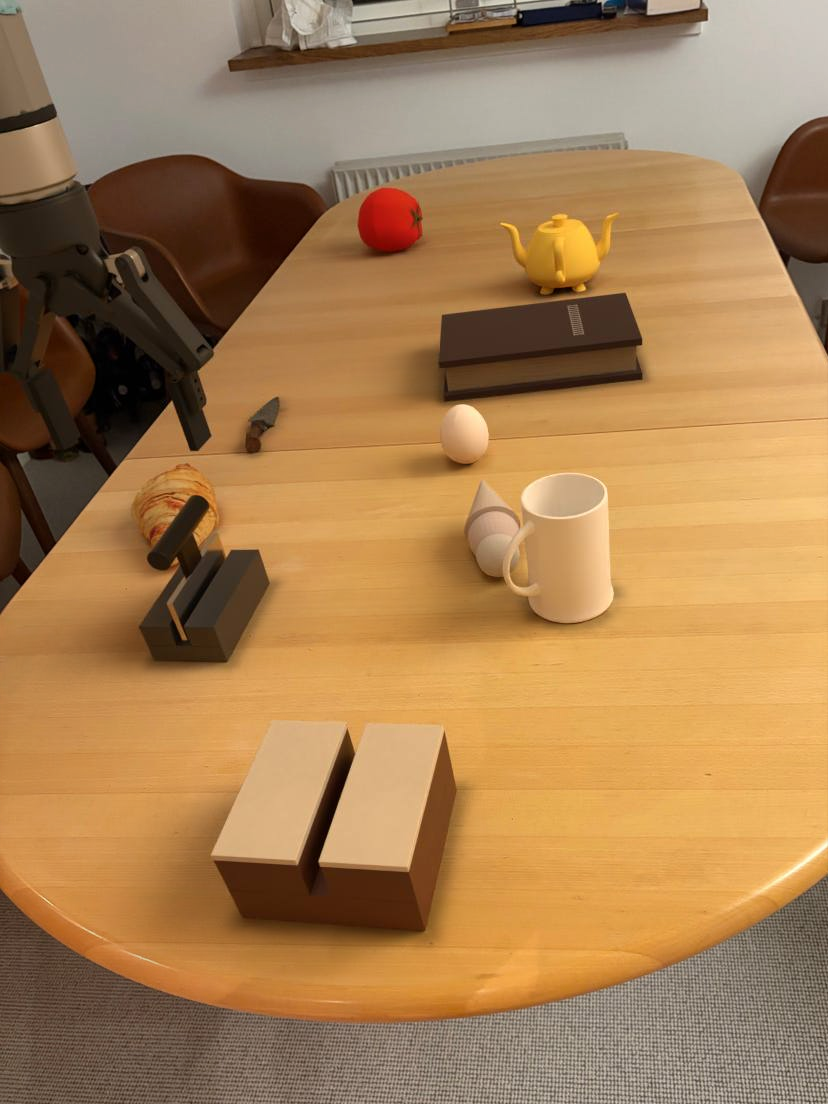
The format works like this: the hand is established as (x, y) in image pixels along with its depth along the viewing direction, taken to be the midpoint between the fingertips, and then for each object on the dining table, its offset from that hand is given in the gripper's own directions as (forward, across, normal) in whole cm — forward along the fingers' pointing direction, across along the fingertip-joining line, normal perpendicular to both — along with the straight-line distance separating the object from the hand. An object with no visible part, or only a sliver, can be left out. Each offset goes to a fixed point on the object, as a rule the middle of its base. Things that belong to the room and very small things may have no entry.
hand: (134, 443), depth 82 cm
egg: (+22, -20, -34) cm, 45 cm away
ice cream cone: (+22, -27, -16) cm, 38 cm away
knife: (+21, +13, -44) cm, 51 cm away
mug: (+22, -36, -6) cm, 43 cm away
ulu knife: (+19, 0, -1) cm, 19 cm away
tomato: (+22, +16, -120) cm, 123 cm away
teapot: (+22, -22, -95) cm, 100 cm away
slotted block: (+21, 0, -1) cm, 21 cm away
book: (+22, -24, -64) cm, 71 cm away
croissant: (+21, +12, -18) cm, 31 cm away
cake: (+21, -25, +25) cm, 42 cm away
